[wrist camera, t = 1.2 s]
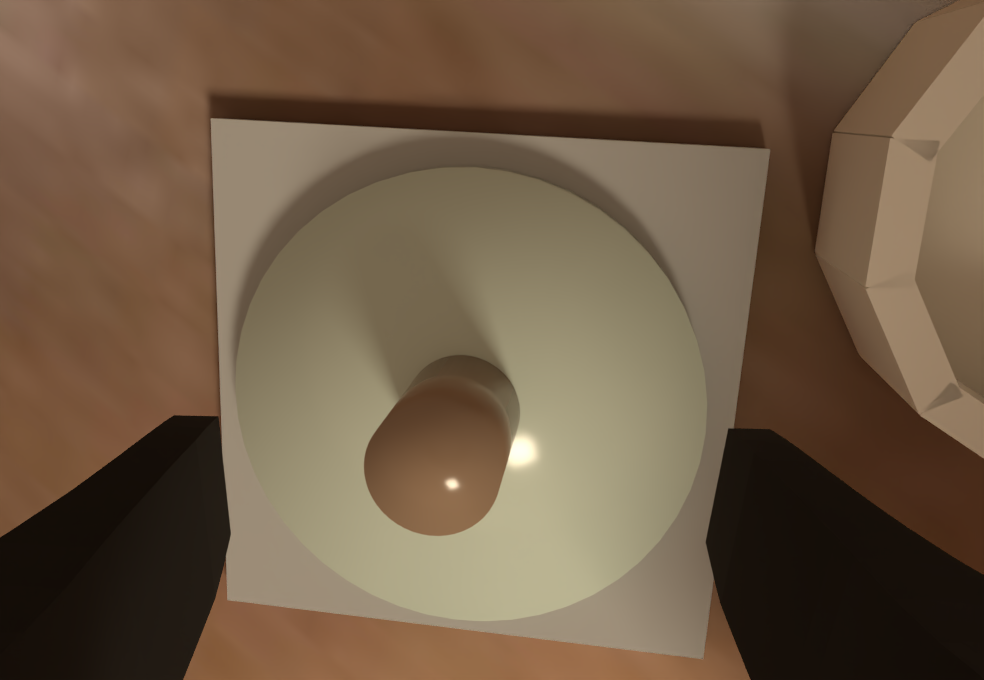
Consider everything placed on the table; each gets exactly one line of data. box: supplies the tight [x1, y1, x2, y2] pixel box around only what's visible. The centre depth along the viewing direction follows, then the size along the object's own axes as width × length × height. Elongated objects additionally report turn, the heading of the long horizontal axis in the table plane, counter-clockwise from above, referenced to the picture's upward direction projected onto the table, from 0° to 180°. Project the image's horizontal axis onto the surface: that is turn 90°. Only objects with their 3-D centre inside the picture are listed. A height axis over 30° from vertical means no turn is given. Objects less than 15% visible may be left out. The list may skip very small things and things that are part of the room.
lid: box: [235, 166, 707, 621], centre depth 21 cm, size 12×12×5 cm
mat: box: [211, 118, 770, 659], centre depth 23 cm, size 14×14×1 cm
